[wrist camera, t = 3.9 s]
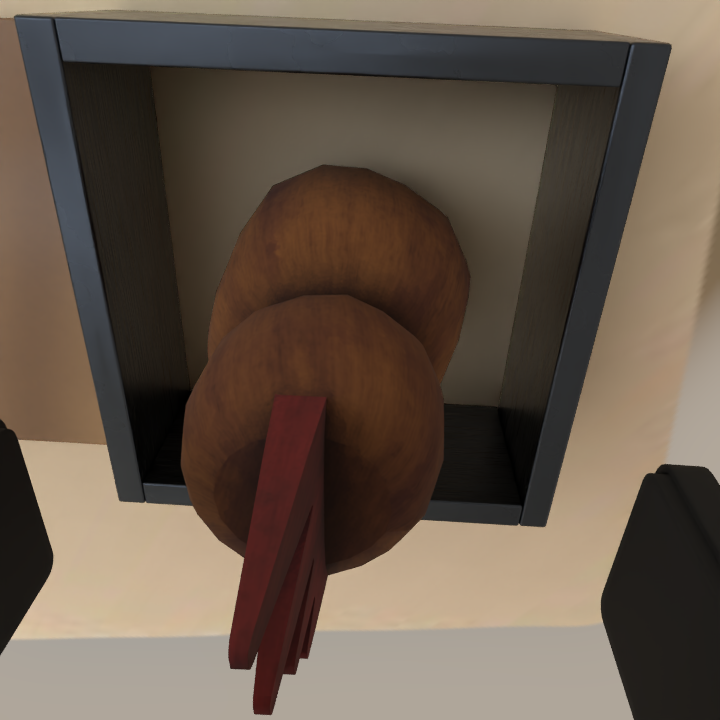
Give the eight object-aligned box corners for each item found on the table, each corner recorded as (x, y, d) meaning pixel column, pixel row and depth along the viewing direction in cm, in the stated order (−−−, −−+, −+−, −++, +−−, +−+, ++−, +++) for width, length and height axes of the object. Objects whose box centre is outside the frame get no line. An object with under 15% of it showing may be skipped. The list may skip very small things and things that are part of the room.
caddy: (171, 405, 23) (118, 502, 18) (113, 9, 16) (11, 14, 12) (516, 425, 22) (546, 528, 18) (598, 30, 16) (674, 43, 12)
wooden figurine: (295, 105, 17) (-6, 439, 4) (481, 186, 18) (707, 668, 5) (229, 307, 20) (-55, 846, 7) (388, 368, 21) (383, 941, 8)
